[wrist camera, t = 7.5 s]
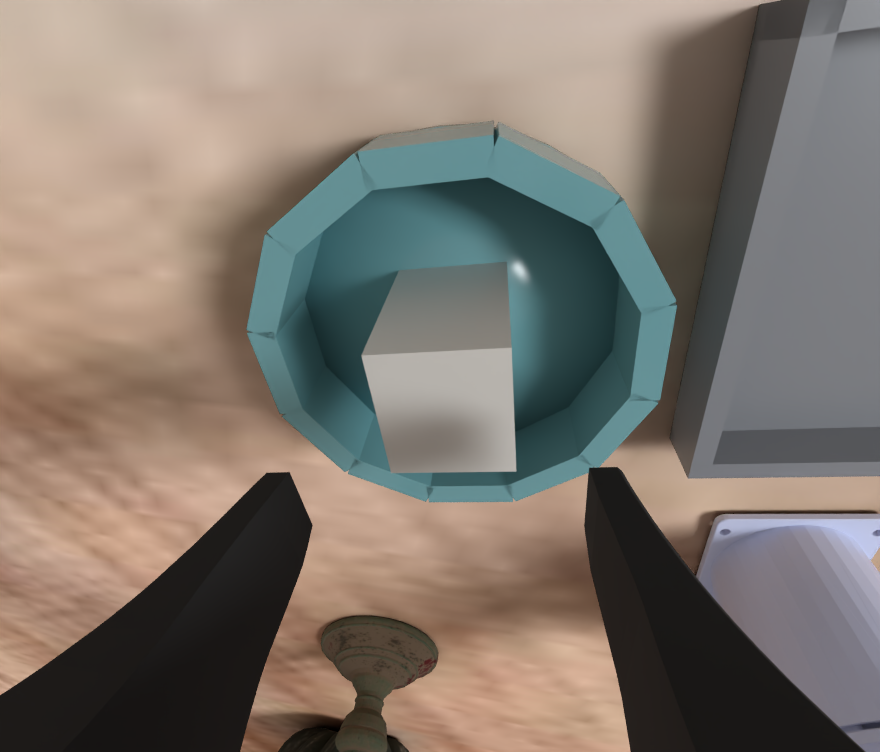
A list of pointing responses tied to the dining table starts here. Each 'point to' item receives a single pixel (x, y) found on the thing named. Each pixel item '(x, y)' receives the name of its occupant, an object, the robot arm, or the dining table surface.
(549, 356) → the bowl
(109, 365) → the dining table surface
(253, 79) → the dining table surface
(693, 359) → the parts tray
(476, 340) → the gray rectangular block
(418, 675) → the candlestick holder
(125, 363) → the dining table surface
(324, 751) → the squash
